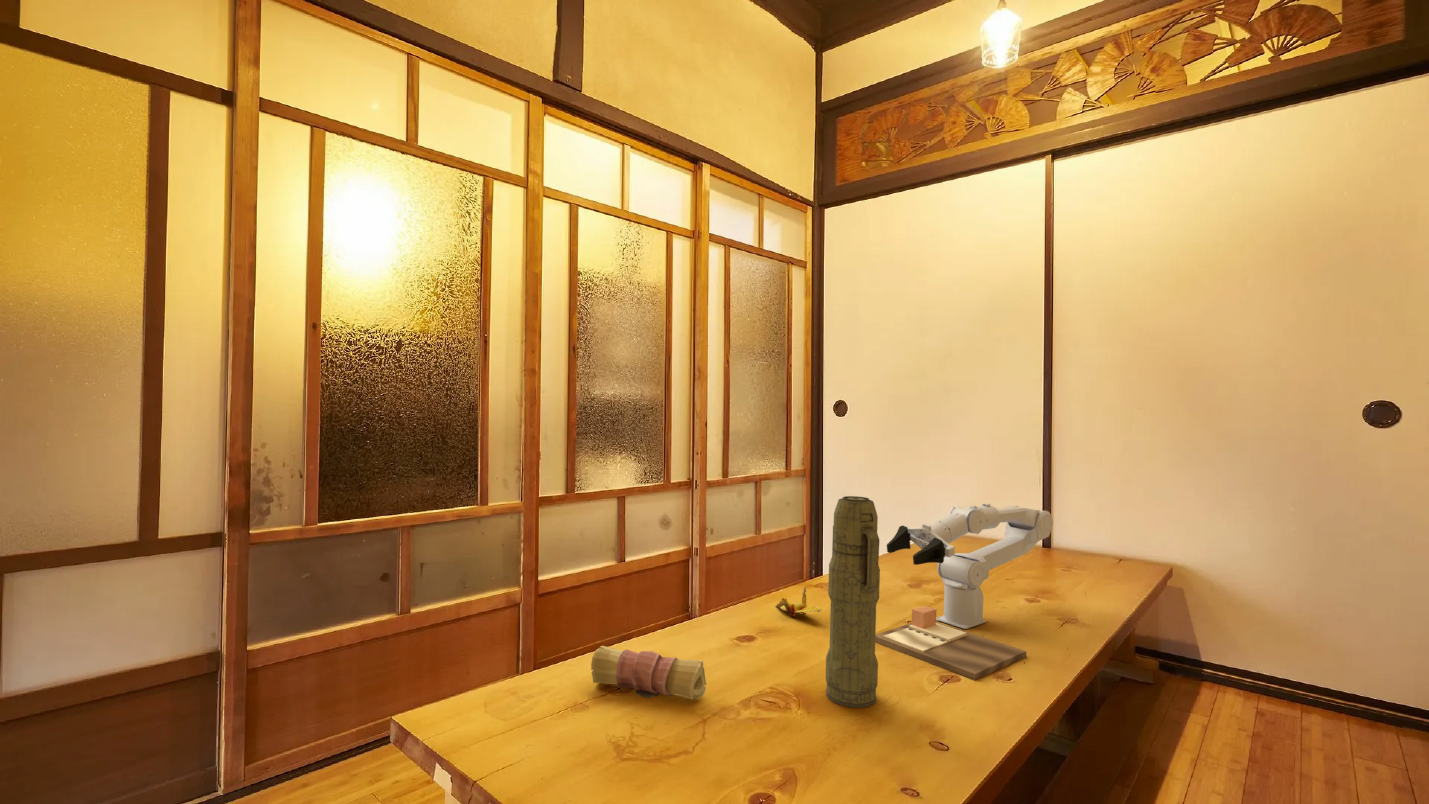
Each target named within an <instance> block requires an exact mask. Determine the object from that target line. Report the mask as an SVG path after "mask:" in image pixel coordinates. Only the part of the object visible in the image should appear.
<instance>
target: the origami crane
mask: <svg viewBox="0 0 1429 804" xmlns="http://www.w3.org/2000/svg"><path fill="white" fill-rule="evenodd" d="M806 593H807V588H806V586H804V587H803V589H802V593H801V594H802V596H801V602H800V601H798V602H795V603H789V601H788V599H787V598H784V597H782V598H781V599H780V600H779V602H778V603H777V604H776V605H775V607H777V608H780V609H781V610H782V611H785V612H787V613H789V614H790V617H791V618H792V619H796V618H797V617H796V614H798V613H802V615H807V612H808V613H809V612H810V613H811V612H813V613H814V612H817V613H820V612H822V611H823V610H822V609H821V608H820V607H818V606H817V605H807V594H806Z"/></svg>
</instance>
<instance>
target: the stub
mask: <svg viewBox="0 0 1429 804" xmlns="http://www.w3.org/2000/svg"><path fill="white" fill-rule="evenodd" d="M936 618H937V608H934V607H930V606H927V605H923V606H919V607H916V608H913V609H911V623H912V625H910V626H909V628H910V629H913V630H915V631H919V632H921V633H924V634H928V635H930V636H934V637H937V638H938V639H942V640H945V641H947V642H951V641H953V640H956V639H959V638H961V637H964V636H967V633H966V632H967V631H966V632H963V631H964V630H963V631H959V630H960V629H959V630H956V629H957V628H956V629H953V628H954V627H953V628H950V627H951V626H950V627H947V626H948V625H947V626H944V625H945V624H944V625H941V624H942V623H941V624H938V623H939V622H938V623H936V622H937V620H936Z"/></svg>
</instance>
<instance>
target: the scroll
mask: <svg viewBox="0 0 1429 804" xmlns="http://www.w3.org/2000/svg"><path fill="white" fill-rule="evenodd" d="M590 663H591V665H590V667H591V668H590V670H591V675H592V676H591V677H592V683H593V684H607V685H608V684H610V685H617V686H618V687H619V688H621V689H634V691H635V694H636V695H637V696H638V697H641V698H654V697H657V696H659V695H660V694H662V695H666V696H669V697H670V696H671V697H672V696H673V695H676V696H680V697H682V698H686V699H691V700H699V699H702V698H703V696H704V695H705V693H706V689H707V687H706V685H707V681H706V680H707V679H706V673H705V668H704V660H701V659H679V658H678V657H677V656H675V657H674V656H672V657H671V656H670V657H669V656H668V657H667V656H666V657H664V656H662V655H661V654H660V653H657V652H655V651H651V650H650V651H649V650H647V651H646V650H641V651H639V652H636V651H632V650H630V649H624V650H620V649H616V648H612V647H608V646H605V645H601V646H599V648H597V649H596V650H595V651H594V653H593V656H592V657H591V662H590Z"/></svg>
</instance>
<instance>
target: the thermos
mask: <svg viewBox="0 0 1429 804" xmlns="http://www.w3.org/2000/svg"><path fill="white" fill-rule="evenodd" d="M878 517H879V516H878V512H877V510H876V506H875V502H874V501H873V500H872V499H870V498H868V497H865V496H855V495H854V496H853V495H846V496H843V497H842V498H838V501H837V503H836V505H835V508H834V512H833V525H832V545H831V546H832V547H831V549H832V550H831V552H832V553H831V558H830V561H829V564H828V589H827V590H828V591H827V592H828V596H829V600H830V611H829V612H830V615H829V616H830V618H829V619H830V620H829V648H828V651H827V653H826V656H825V682H826V689H825V693H826V695H825V696H826V697H827V699H828V700H829V701H831V702H832V703H834V704H836V705H838V706H842V707H846V708H852V709H854V708H855V709H862V708H863V709H864V708H868V707H871V706H873V705H874V704H875V703H876V701H877V687H878V677H879V676H878V675H879V671H878V670H879V662H878V658H877V655H876V642H875V634H877V633H876V629H877V627H876V625H877V604H878V601H879V599H880V584H881V583H880V582H881V581H880V579H881V578H880V577H881V575H880V574H881V569H880V565H879V561H880V560H879V558H880V557H879V556H880V538H879V534H878V522H879V521H878Z"/></svg>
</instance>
